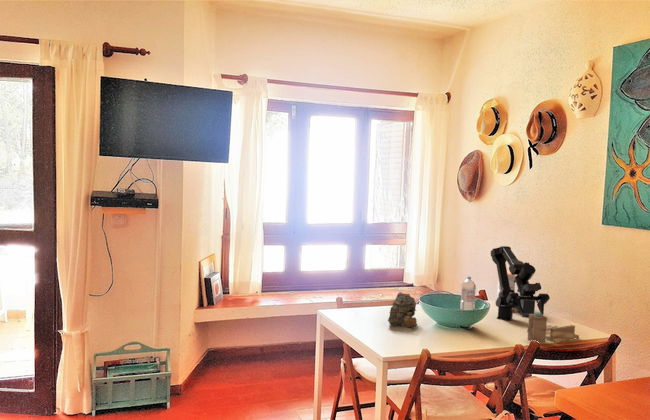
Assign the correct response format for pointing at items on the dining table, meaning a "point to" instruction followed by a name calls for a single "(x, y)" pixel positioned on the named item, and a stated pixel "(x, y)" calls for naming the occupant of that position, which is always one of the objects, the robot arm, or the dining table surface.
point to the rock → (403, 311)
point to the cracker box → (511, 282)
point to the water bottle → (468, 295)
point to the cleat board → (560, 333)
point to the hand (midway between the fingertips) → (533, 314)
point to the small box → (527, 307)
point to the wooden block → (537, 327)
